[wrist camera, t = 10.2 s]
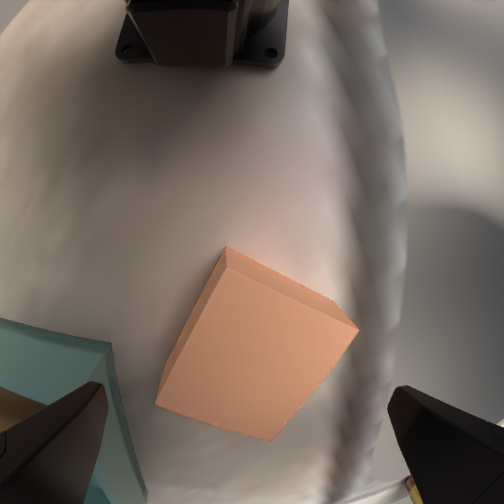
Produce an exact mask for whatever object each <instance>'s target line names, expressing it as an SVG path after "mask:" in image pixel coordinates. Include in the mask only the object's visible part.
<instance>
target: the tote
mask: <svg viewBox="0 0 504 504" xmlns="http://www.w3.org/2000/svg"><path fill="white" fill-rule="evenodd" d="M89 381H95V382H100V383H102V384H103V385H104V387H105V391H106V395H107V399H108V403H109V410H108V415H107V419H106V424H105V428H104V433H103V438H102V443H101V448H100V452H99V455H98V459H97V462H96V465H95V468H94V471H93V474H92V478H91V481H90V484H89V488H88V491H87V494H86V498H85V502H84V504H146V501H147V494H148V492H147V489H146V487H145V484H144V481H143V478H142V475H141V472H140V469H139V466H138V463H137V460H136V457H135V453H134V450H133V447H132V443H131V440H130V436H129V432H128V428H127V425H126V421H125V416H124V412H123V408H122V403H121V399H120V394H119V389H118V384H117V379H116V373H115V367H114V361H113V355H112V348H111V343H107V342H101V341H96V340H90V339H85V338H80V337H75V336H70V335H65V334H61V333H56V332H52V331H48V330H43V329H39V328H35V327H31V326H28V325H24V324H20V323H17V322H13V321H10V320H6V319H3V318H0V387H2V388H5V389H7V390H9V391H12V392H14V393H16V394H19V395H21V396H24V397H26V398H29V399H31V400H34V401H37V402H39V403H42V404H45V405H47V406H48V405H50V404H51V403H53V402H55V401H57V400H58V399H60V398H62V397H63V396H65V395H67V394H68V393H70V392H72V391H74V390H75V389H77V388H79V387H80V386H82V385H84V384H85V383H87V382H89Z"/></svg>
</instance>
